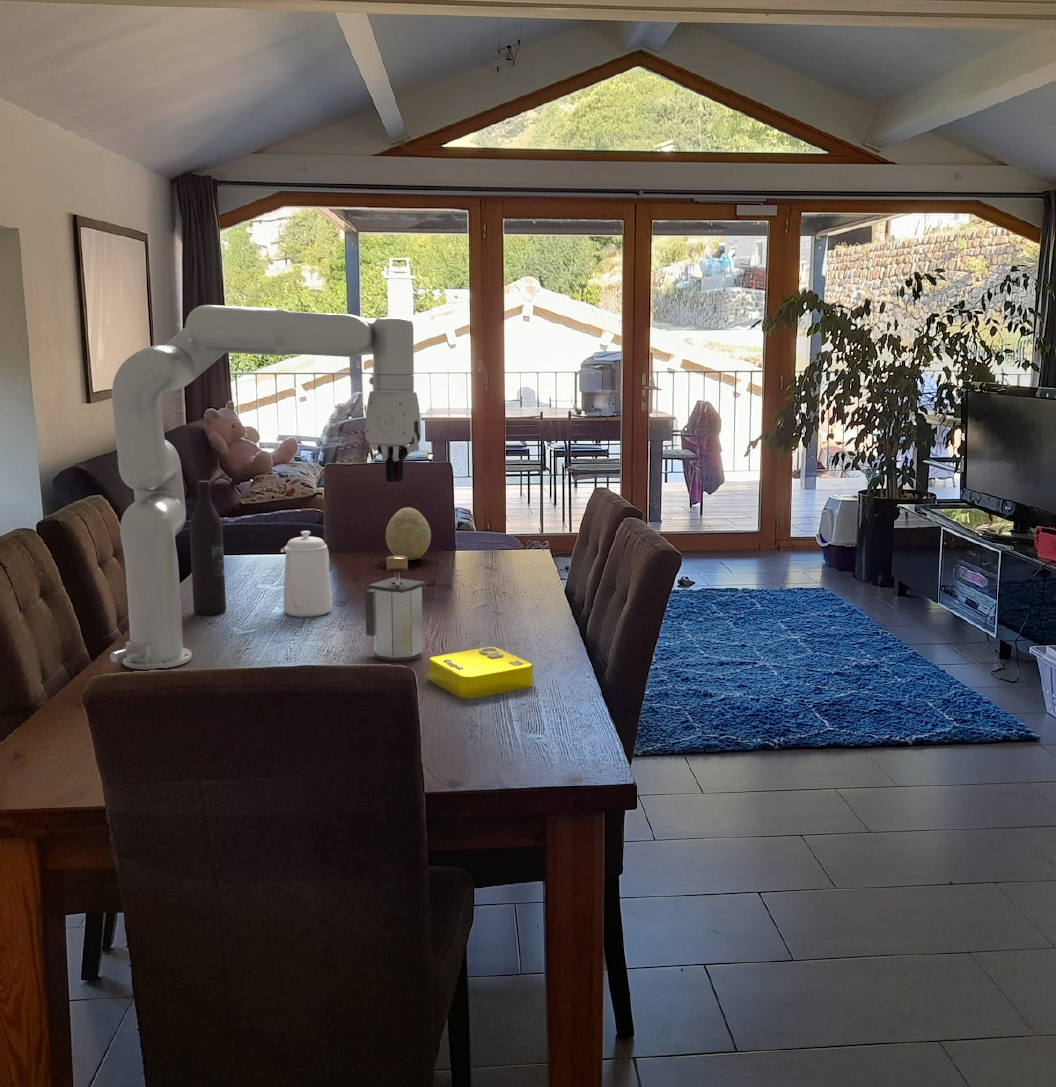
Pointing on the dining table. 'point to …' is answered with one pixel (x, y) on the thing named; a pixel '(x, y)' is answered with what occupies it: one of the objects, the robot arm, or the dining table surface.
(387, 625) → the grey faceted container
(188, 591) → the dining table surface
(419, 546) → the fossilized egg
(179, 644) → the robot arm
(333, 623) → the dining table surface
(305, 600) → the coffeepot
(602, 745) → the dining table surface
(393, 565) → the plunger
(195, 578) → the wine bottle
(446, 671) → the element tile
